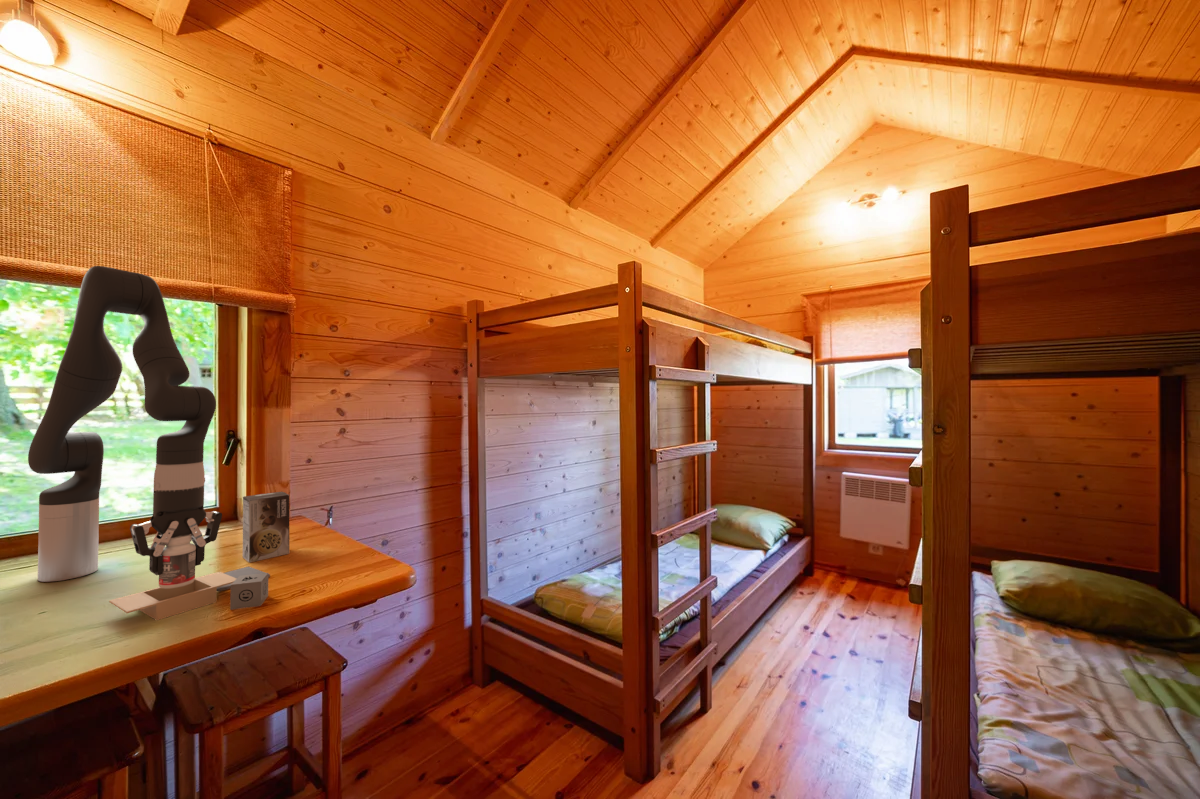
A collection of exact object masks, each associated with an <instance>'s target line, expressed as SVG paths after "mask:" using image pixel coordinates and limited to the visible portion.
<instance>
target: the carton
mask: <svg viewBox="0 0 1200 799" xmlns="http://www.w3.org/2000/svg"><path fill="white" fill-rule="evenodd" d="M224 573H225V572H221V571H217V572H213V573H208V574H205V575H202V576H197V577H195V580H194V581H193V582H192V583H190V584H188V585H185V586H182V587H177V588H170V589H164V588H160V587H159V586H158V587H155V588H151V589H148V590H144V591H140V592H136V593H132V594H128V595H124V596H120V597H116V598H113V599H109V600H108V602H109V603H110V604H111V605H113V606H115V607H116V608H118V609H119V610H120V611H123V612H124V613H126V614H130V613H133V612H137V611H141V612H142V613H144V614H145V615H146V616H148V617H150V618H152V619H153V620H155V621H159V620H162V619H166V618H168V617H172V616H175V615H179V614H181V613H185V612H189V611H192V610H195V609H197V608H202V607H204V606H208V605H211V604H214V603H217V593H218V592H217V587H221V586H224V585H228V584H231V583H233V582H234V581H235V580H236V579H237V578H234V577H232V576H229V575H227V574H224Z"/></svg>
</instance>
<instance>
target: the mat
mask: <svg viewBox="0 0 1200 799" xmlns="http://www.w3.org/2000/svg"><path fill="white" fill-rule="evenodd" d="M223 573H224V574H227V575H229V576H232V577H234V578H238V577H239V576H243V575H252V574H261V573H266V572H264V571H262V570H260V569H257V568H255V567H251V566H246V567H241V568H238V569H233V570H230V571H226V572H223ZM270 577H271V574H270V573H269V574H268V578H270ZM231 584H232V583H231ZM231 584H228V585H224V586H221V587H217V593H220V592H223V591H226V590H227V591H228V590H229V589H230V590H231Z"/></svg>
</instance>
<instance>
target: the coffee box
mask: <svg viewBox="0 0 1200 799" xmlns="http://www.w3.org/2000/svg"><path fill="white" fill-rule="evenodd" d="M290 551H291V550H290V494H288V493H287V492H284V491H277V492H268V493H260V494H252V495H247V496H242V558H243V559H244V560H245V561H246V562H247V563H254V562H259V561H263V560H267V559H272V558H275V557H276V558H277V557H280V556H283V555H284V556H285V555H289V554H290V553H291V552H290Z"/></svg>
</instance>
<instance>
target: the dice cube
mask: <svg viewBox="0 0 1200 799" xmlns="http://www.w3.org/2000/svg"><path fill="white" fill-rule="evenodd" d="M268 574H270V573H269V572H265V573H261V574H252V575H243V576H239V577H238V578H237V579H236V580H235V581H234V582H233V583H232V584H231V588H230V599H229V600H230V608H229V609H230V611H232V610H238V609H239V610H240V609H247V608H255V607H261V606H262V605H263V603H264V602H266V600H267V598H268V597H269V577H268Z"/></svg>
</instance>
